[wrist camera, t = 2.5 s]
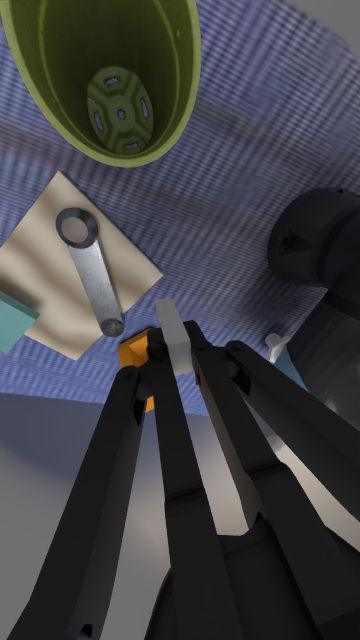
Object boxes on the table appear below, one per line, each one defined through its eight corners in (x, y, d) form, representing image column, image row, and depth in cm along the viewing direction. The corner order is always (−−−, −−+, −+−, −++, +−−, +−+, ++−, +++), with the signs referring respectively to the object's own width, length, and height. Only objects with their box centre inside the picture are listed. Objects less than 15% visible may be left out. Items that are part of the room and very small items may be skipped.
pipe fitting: (256, 353, 46) (277, 378, 39) (260, 328, 42) (285, 351, 36) (280, 348, 47) (305, 372, 40) (286, 323, 43) (315, 345, 36)
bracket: (178, 358, 42) (192, 407, 32) (149, 374, 42) (154, 427, 32) (152, 324, 36) (159, 370, 26) (119, 342, 37) (114, 394, 27)
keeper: (5, 276, 26) (-19, 289, 22) (49, 303, 29) (36, 319, 25) (-23, 310, 27) (-49, 329, 23) (22, 333, 30) (6, 353, 26)
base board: (62, 172, 23) (46, 164, 19) (162, 272, 32) (167, 283, 27) (-32, 297, 27) (-64, 315, 23) (77, 355, 36) (70, 376, 32)
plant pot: (109, -14, 17) (83, -273, 8) (192, 126, 23) (233, 73, 14) (35, 104, 20) (-52, 14, 10) (127, 203, 26) (124, 203, 16)
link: (55, 209, 23) (48, 210, 21) (93, 204, 24) (89, 204, 22) (103, 331, 33) (101, 339, 31) (129, 325, 33) (129, 333, 31)
